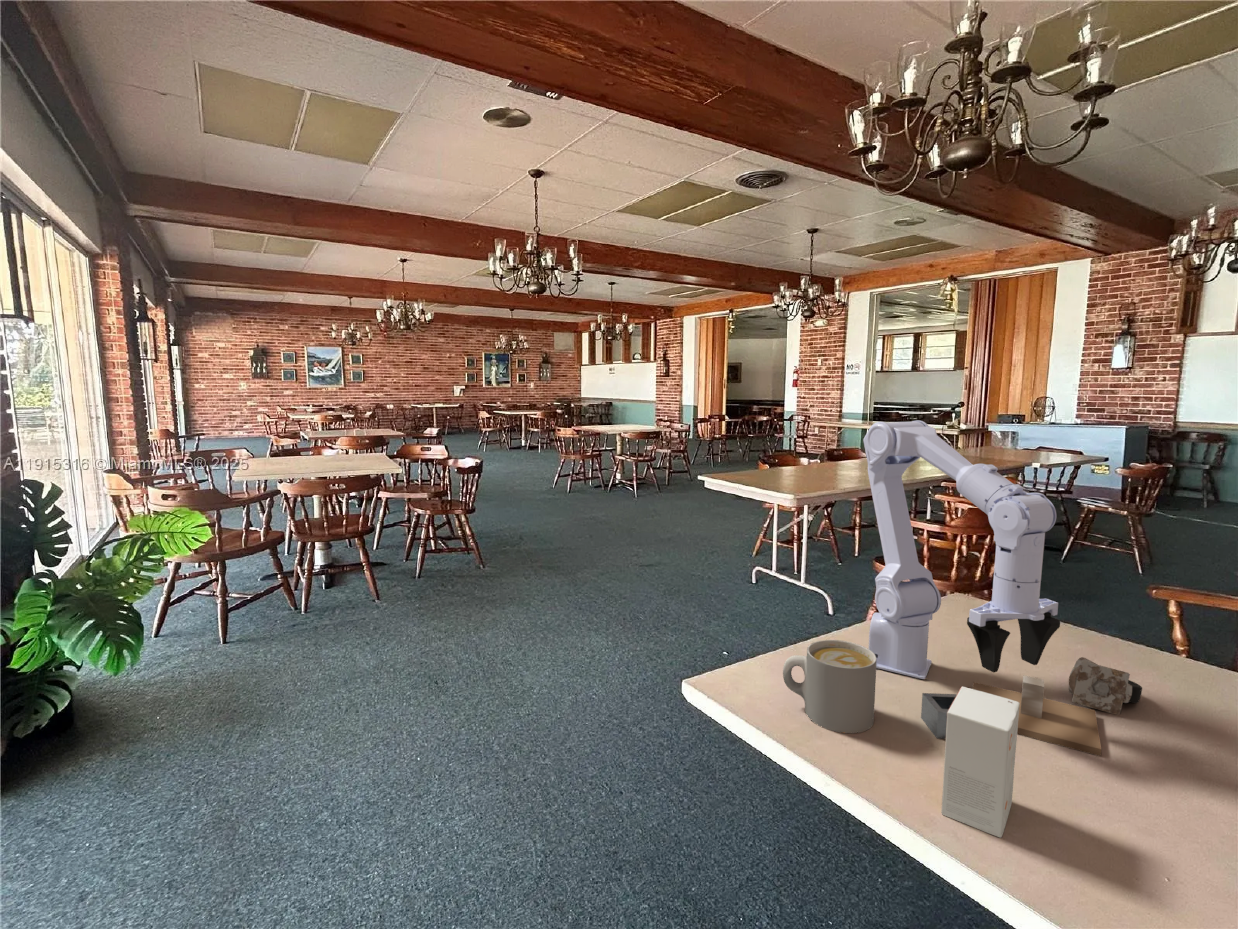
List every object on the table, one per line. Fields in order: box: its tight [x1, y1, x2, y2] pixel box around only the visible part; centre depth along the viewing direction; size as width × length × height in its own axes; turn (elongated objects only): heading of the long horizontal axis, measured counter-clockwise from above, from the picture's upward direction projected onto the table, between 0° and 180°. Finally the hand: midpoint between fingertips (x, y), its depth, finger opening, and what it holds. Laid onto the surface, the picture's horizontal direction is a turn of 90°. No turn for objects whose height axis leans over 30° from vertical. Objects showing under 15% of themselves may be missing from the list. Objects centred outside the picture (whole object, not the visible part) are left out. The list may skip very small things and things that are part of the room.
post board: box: [971, 675, 1102, 757], centre depth 91 cm, size 16×12×6 cm
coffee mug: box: [782, 639, 877, 734], centre depth 94 cm, size 13×10×10 cm
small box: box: [940, 686, 1020, 839], centre depth 72 cm, size 8×6×13 cm
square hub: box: [920, 692, 958, 740], centre depth 89 cm, size 5×5×4 cm
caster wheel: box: [1068, 656, 1143, 715], centre depth 97 cm, size 7×11×10 cm
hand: (1009, 665), depth 89 cm, fingers open, 7 cm apart
